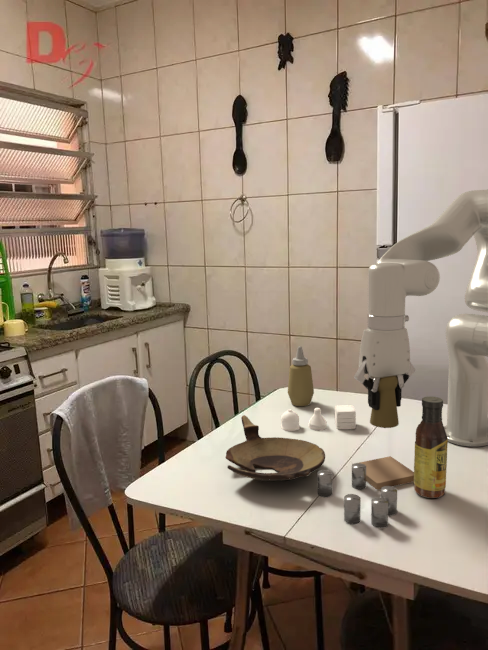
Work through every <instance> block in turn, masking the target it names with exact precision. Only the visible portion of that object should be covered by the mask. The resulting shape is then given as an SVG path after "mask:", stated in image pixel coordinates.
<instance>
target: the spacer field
mask: <svg viewBox="0 0 488 650" xmlns="http://www.w3.org/2000/svg"><path fill="white" fill-rule="evenodd" d="M352 464H353V465H352ZM352 464H351V488H353V489H356V490H364V489H367V482H366V465H365V464H362V463H359V462H355V464H354V463H352ZM317 495H318V496H320V497H323V498H328V497H332V495H333V472H332V471H331V470H328V469H321V470H318V471H317ZM361 499H362V498H361V496H359V495H358V494H355V493H348V494H346V495H344V497H343V500H344V501H343V502H344V503H343V506H344V507H343V515H344V517H343V519H344V522H345V523H346V524H349V525H358V524H360V523H361V509H362V508H361V504H362V503H361ZM370 507H371V510H370V511H371V512H370V513H371V515H370V516H371V518H370V519H371V520H370V522H371V526H373V527H374V528H377V529H383V528H387V527H388V525H389V516H395V515H397V514H398V488H397V487H396V486H393V487H392V486H384V487H382V488H381V489H380V496H379V497H377V496H376V497H373V498H371V506H370Z"/></svg>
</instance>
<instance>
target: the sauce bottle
mask: <svg viewBox="0 0 488 650" xmlns="http://www.w3.org/2000/svg"><path fill="white" fill-rule="evenodd" d="M421 406H422V409H421V411H422V415H421V421H420V422H419V424H418V425H417V427H416V429H415V441H414V458H413V472H414V482H413V484H414V485H413V488H414V491H415V493H416V494H417V495H418V496H421V497H423V498H427V499H437V498H441V497H443V496H444V495H445V493H446V487H447V469H448V468H447V466H448V465H447V463H448V461H447V460H448V444H449V443H448V438H447V435H446V432H445V429H444V426H445V425H444V424H443V407H444V400H443V398H441V397H438V396H424V397H422V399H421Z"/></svg>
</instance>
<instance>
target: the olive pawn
mask: <svg viewBox="0 0 488 650" xmlns="http://www.w3.org/2000/svg"><path fill="white" fill-rule="evenodd" d="M397 384H398V380H397V377H396V376H389V377H383V378H380V380H379V385H378V389H377V391H378V392H379V393H380V408H379V410H375V409H373V408H371V413H370V417H369V423H370V425H372V426H373V427H377V428H381V429H383V428H384V429H391V428H395V427H397V426H399V424H400V421H399V414H398V407H397V404H396V396H395V388H396V387H397Z"/></svg>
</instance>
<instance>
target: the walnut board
mask: <svg viewBox="0 0 488 650" xmlns="http://www.w3.org/2000/svg"><path fill="white" fill-rule="evenodd" d="M355 463H356V462H355ZM355 463H352V464H351V466H352V465H353V464H355ZM358 463H362V464H365V465H366V483H367V484H368V485H370V486H371V487H372V488H373V489H375V490H376V491H381V488H382V487H384V486H392V487H396V486H397V487H398V486H401V485H406V484H410V483H414V470H411V469H410V468H408V467H407V466H406V465H404V464H403V463H401V462H400V461H398V460H397V459H395V458H394V457H393V456H391V455H390V456H386V457H385V456H384V457H381V458H375V459H370V460H364V461H360V462H358Z"/></svg>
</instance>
